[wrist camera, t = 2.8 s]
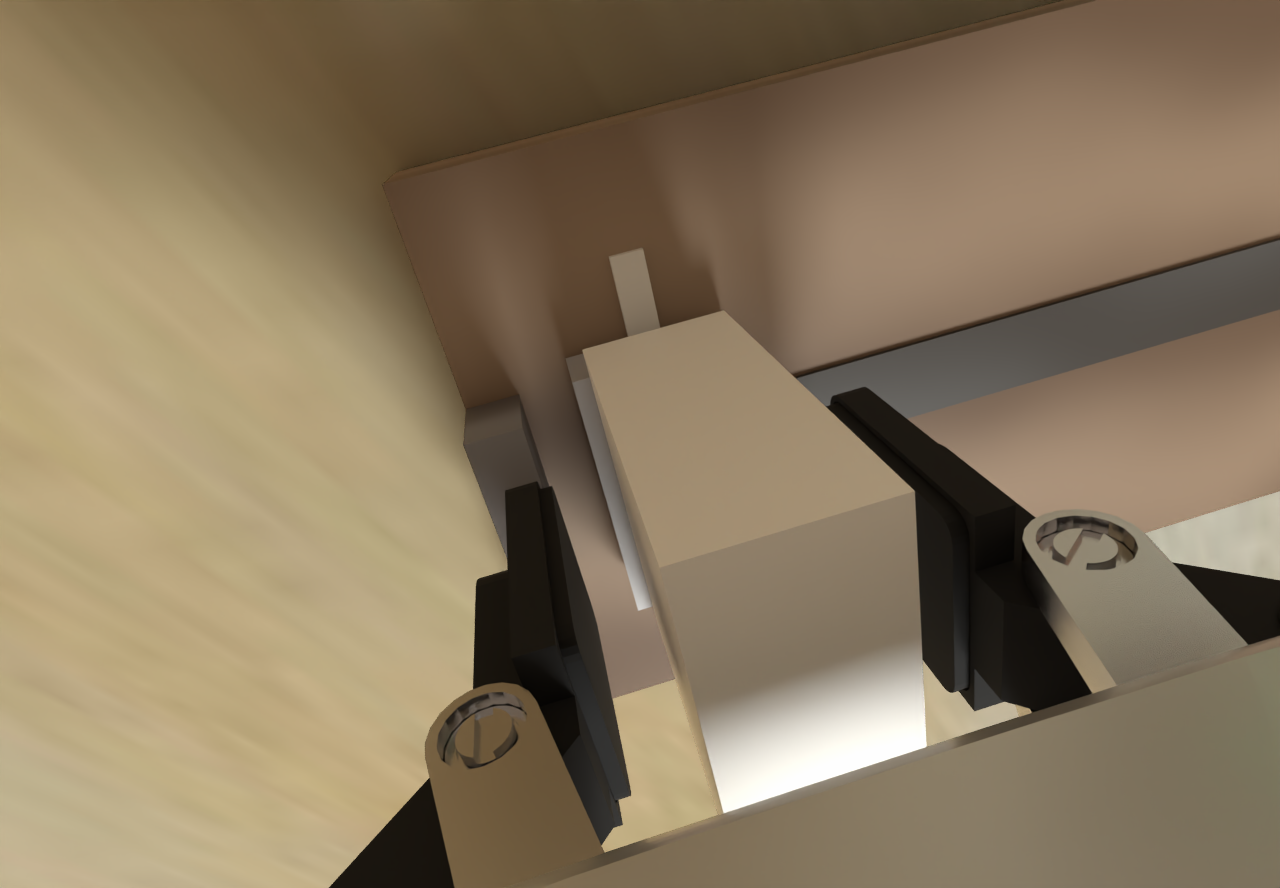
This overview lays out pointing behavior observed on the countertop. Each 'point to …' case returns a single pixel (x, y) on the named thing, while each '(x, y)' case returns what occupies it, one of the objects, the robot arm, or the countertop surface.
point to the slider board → (901, 263)
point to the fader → (759, 556)
